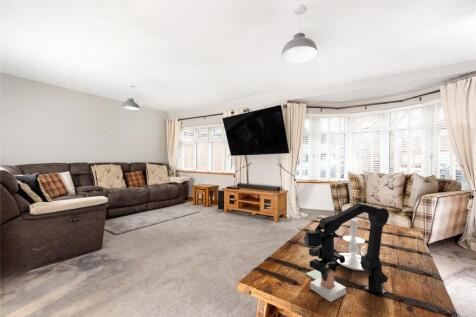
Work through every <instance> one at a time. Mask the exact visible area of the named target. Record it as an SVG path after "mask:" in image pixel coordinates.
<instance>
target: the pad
mask: <svg viewBox="0 0 476 317" xmlns="http://www.w3.org/2000/svg"><path fill="white" fill-rule="evenodd" d="M305 275H306V276H308V277H310V278H311V279H313V280H317V279H319V278H321V272H319V271H317V270H315V269H313V270H311V271H309V272H305Z"/></svg>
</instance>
